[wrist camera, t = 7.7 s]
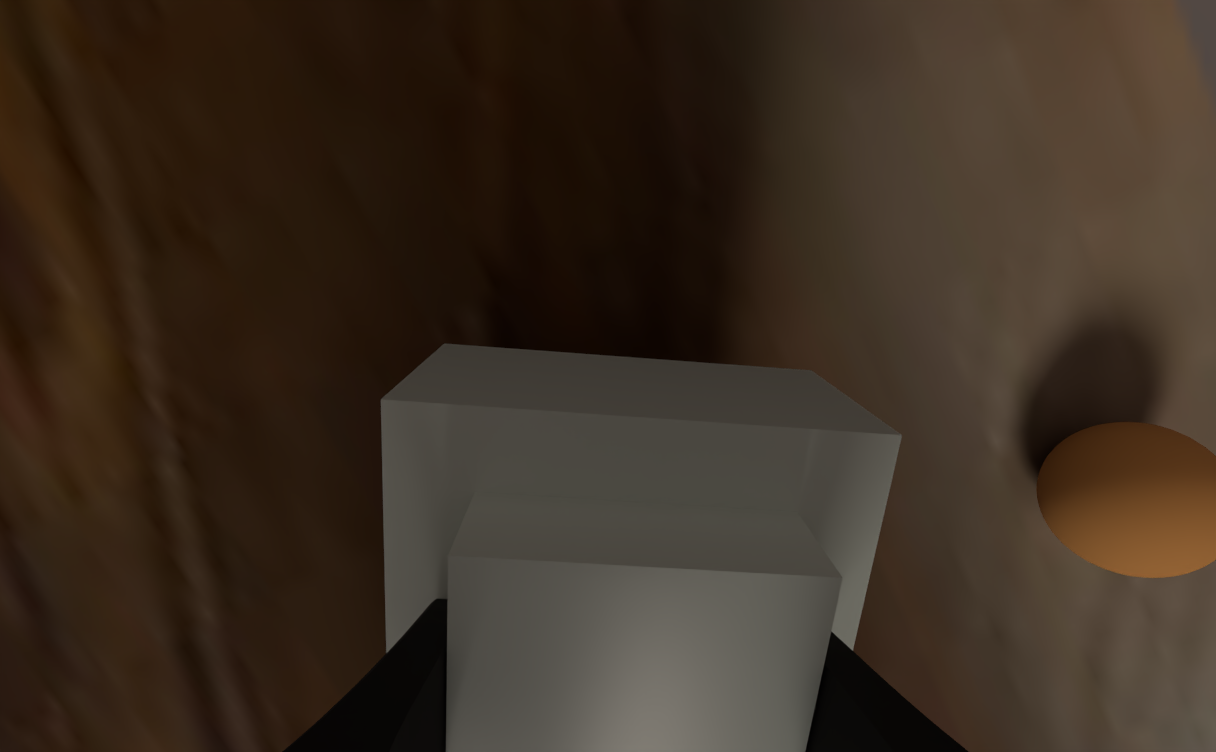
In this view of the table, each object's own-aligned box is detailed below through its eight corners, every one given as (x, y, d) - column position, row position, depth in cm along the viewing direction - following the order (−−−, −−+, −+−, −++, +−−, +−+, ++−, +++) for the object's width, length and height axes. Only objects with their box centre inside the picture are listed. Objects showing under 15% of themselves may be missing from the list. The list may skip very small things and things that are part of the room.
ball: (1017, 575, 21) (1173, 597, 20) (1118, 550, 16) (1322, 577, 16) (998, 443, 23) (1139, 459, 22) (1083, 388, 18) (1261, 407, 18)
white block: (441, 656, 16) (352, 921, 10) (444, 343, 14) (329, 444, 8) (757, 671, 17) (852, 934, 11) (811, 370, 15) (973, 486, 8)
